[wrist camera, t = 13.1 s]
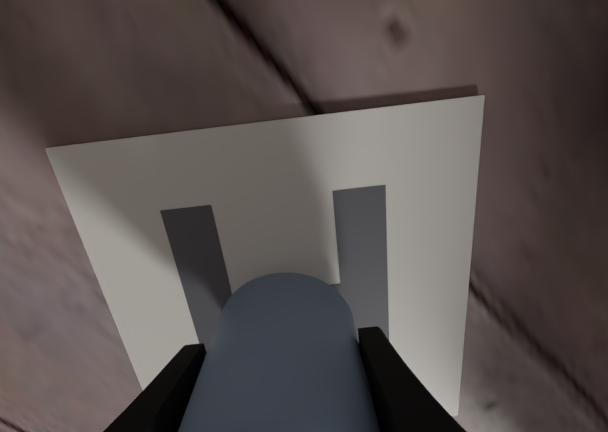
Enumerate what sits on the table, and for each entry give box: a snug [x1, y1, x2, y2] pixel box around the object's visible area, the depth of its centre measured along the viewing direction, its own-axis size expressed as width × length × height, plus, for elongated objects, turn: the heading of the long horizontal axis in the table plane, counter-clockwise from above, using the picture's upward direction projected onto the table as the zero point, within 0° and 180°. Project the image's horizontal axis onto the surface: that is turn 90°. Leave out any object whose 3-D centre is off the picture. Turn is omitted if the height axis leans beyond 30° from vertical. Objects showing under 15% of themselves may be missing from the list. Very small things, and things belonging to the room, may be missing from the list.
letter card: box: [45, 95, 485, 416], centre depth 12 cm, size 14×14×1 cm
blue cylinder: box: [178, 273, 380, 432], centre depth 9 cm, size 5×5×5 cm
